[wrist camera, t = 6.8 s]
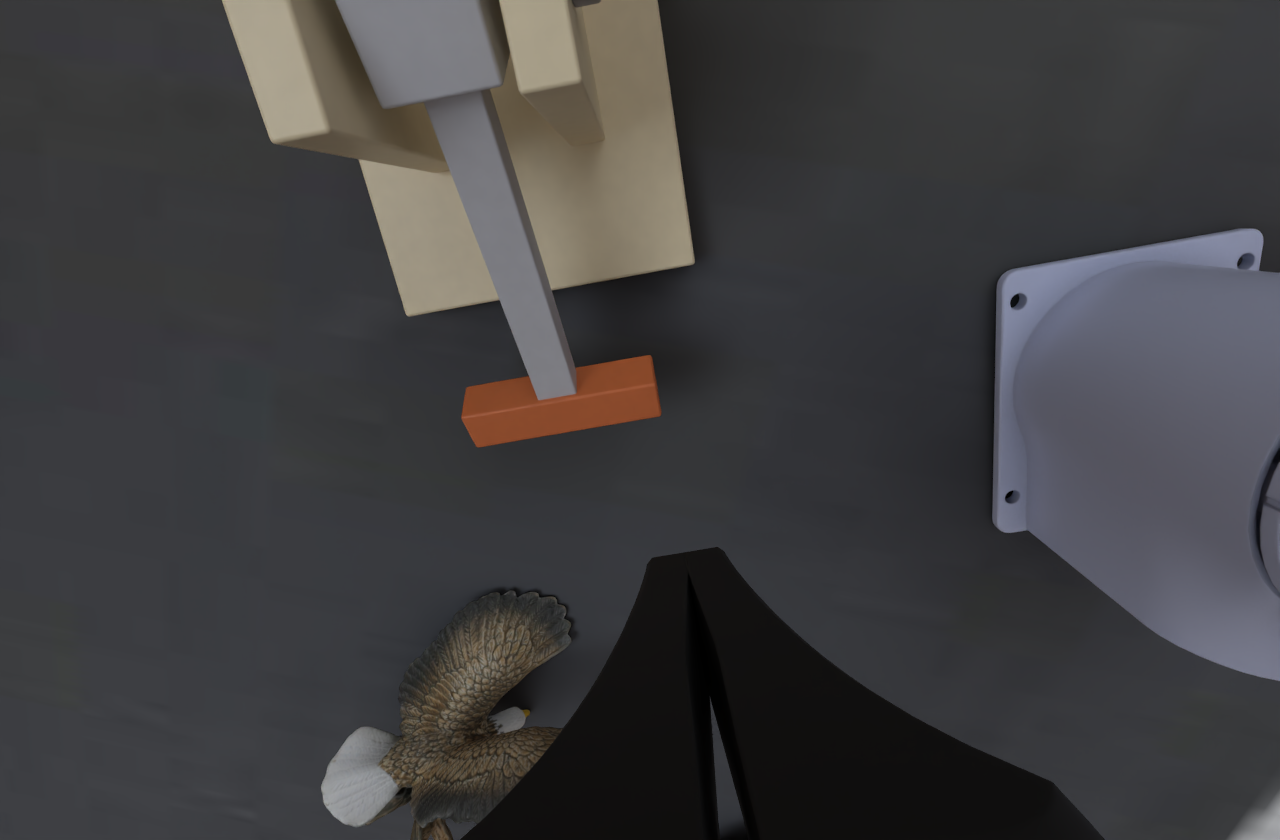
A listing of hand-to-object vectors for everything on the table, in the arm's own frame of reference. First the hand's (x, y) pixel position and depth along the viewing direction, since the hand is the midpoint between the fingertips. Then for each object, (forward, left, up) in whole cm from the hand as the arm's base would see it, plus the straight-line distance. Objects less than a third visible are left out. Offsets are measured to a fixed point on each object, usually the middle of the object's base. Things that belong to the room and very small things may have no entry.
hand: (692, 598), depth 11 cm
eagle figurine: (-10, +9, -11) cm, 17 cm away
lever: (+7, +3, -6) cm, 10 cm away
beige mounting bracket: (+11, +3, -10) cm, 15 cm away
